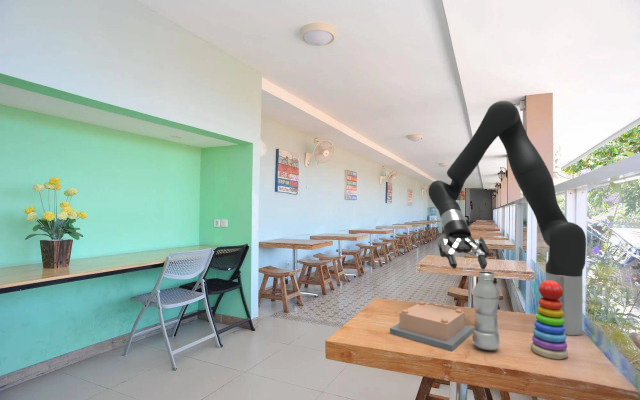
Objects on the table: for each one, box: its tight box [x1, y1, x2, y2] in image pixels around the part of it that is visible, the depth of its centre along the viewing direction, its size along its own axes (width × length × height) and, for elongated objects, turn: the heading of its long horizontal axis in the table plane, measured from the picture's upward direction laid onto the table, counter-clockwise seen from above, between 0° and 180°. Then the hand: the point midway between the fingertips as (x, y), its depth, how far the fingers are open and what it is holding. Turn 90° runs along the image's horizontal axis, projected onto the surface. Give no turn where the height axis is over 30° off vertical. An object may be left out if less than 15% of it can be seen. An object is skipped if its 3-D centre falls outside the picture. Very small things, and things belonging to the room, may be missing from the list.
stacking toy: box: [530, 280, 569, 360], centre depth 87 cm, size 8×8×19 cm
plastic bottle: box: [471, 270, 501, 352], centre depth 90 cm, size 6×7×20 cm
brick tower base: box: [389, 300, 474, 352], centre depth 100 cm, size 18×18×7 cm
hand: (469, 267), depth 100 cm, fingers open, 8 cm apart
